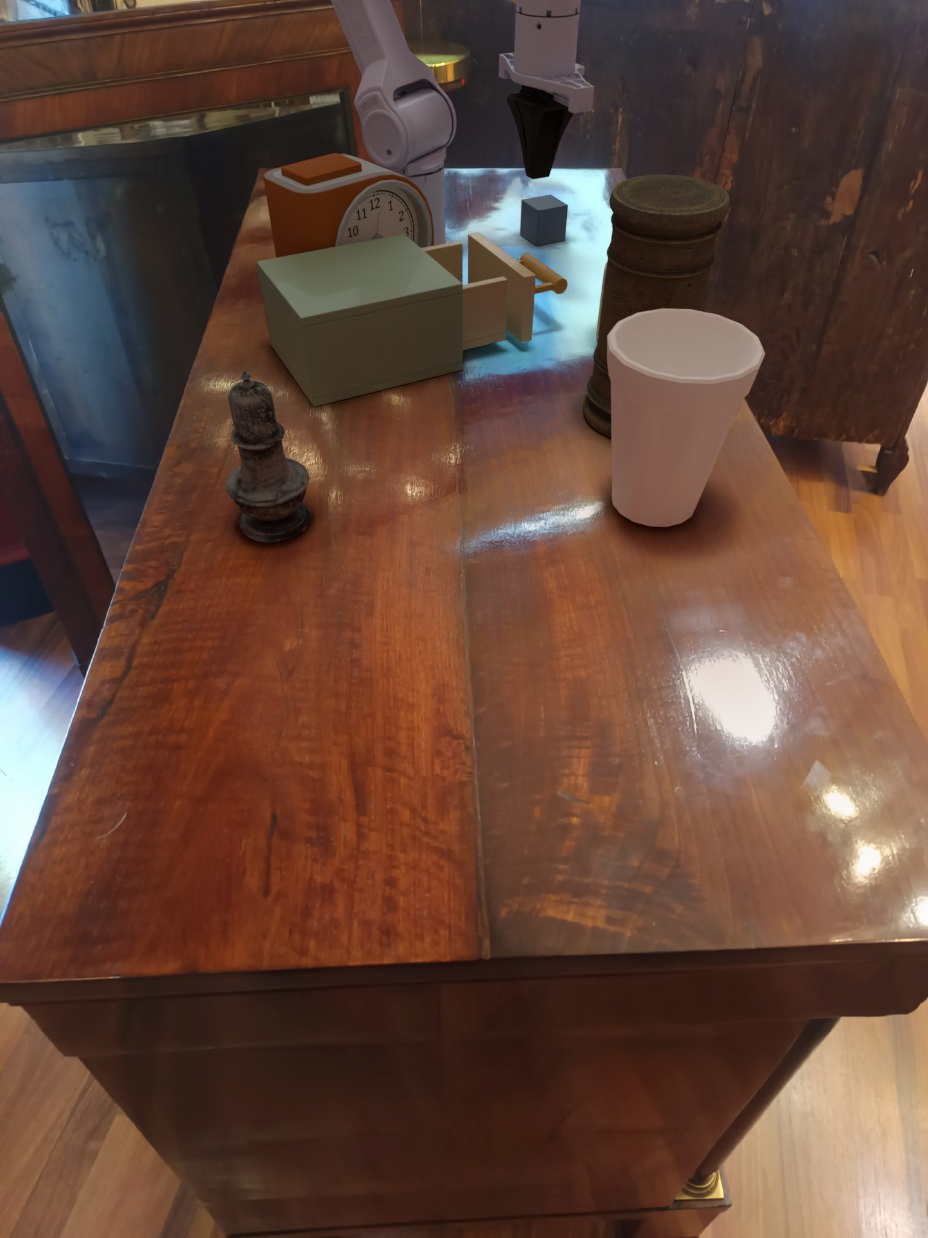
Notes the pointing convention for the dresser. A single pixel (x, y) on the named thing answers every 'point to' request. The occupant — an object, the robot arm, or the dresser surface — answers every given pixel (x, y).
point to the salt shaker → (264, 468)
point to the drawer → (496, 289)
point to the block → (543, 220)
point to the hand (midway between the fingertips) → (537, 175)
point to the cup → (673, 406)
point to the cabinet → (362, 317)
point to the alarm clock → (342, 205)
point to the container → (653, 261)
